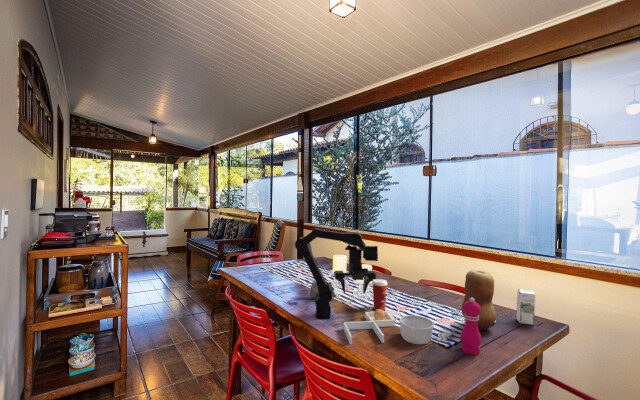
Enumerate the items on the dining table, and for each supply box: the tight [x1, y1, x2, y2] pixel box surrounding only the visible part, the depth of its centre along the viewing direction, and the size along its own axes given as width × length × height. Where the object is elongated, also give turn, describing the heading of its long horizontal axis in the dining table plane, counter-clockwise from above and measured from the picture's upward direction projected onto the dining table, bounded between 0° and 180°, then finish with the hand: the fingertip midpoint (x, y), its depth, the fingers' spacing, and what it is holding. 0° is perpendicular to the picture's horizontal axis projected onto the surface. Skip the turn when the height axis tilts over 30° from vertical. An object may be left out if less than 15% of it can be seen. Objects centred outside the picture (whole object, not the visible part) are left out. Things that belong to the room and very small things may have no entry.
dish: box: [364, 310, 396, 328], centre depth 144 cm, size 11×11×3 cm
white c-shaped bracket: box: [342, 320, 385, 345], centre depth 130 cm, size 14×14×3 cm
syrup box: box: [516, 288, 536, 326], centre depth 145 cm, size 6×6×14 cm
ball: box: [373, 309, 385, 320], centre depth 144 cm, size 5×5×5 cm
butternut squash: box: [461, 269, 497, 331], centre depth 138 cm, size 14×13×25 cm
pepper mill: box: [459, 297, 483, 355], centre depth 118 cm, size 7×7×20 cm
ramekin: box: [399, 314, 435, 345], centre depth 128 cm, size 13×13×7 cm
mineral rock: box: [309, 281, 337, 300], centre depth 172 cm, size 13×11×10 cm
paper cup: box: [371, 278, 388, 311], centre depth 160 cm, size 8×8×14 cm
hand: (354, 293), depth 146 cm, fingers open, 9 cm apart
